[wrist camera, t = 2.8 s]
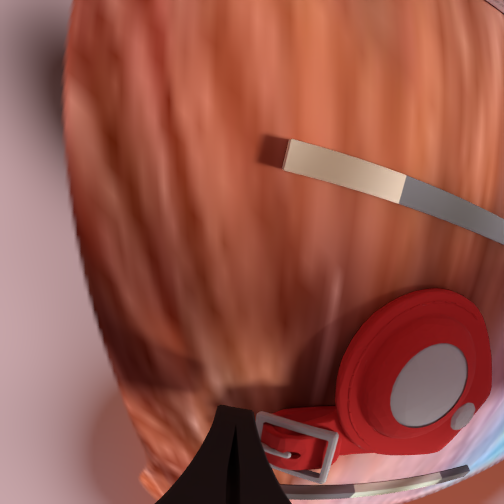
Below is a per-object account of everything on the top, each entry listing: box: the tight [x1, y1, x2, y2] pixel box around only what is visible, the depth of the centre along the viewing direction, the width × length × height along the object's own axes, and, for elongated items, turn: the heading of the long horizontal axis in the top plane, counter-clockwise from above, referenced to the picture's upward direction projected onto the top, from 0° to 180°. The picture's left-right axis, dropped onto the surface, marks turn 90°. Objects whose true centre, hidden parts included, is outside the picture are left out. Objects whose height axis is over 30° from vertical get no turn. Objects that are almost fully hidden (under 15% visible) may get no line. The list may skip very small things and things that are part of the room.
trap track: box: [280, 139, 504, 500], centre depth 13 cm, size 24×21×1 cm
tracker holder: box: [256, 288, 492, 484], centre depth 12 cm, size 12×4×10 cm
